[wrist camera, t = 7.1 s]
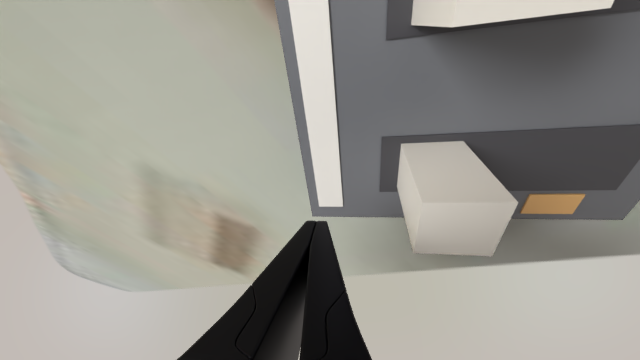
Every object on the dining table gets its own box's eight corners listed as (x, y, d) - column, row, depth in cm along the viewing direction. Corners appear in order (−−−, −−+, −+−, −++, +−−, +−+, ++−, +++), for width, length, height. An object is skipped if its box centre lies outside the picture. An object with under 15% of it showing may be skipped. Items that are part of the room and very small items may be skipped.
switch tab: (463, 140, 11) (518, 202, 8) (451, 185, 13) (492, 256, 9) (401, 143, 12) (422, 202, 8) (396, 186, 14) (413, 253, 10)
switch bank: (952, -307, 6) (1214, -451, 4) (592, 197, 14) (624, 221, 13) (266, -126, 9) (244, -162, 7) (316, 198, 18) (312, 217, 16)
